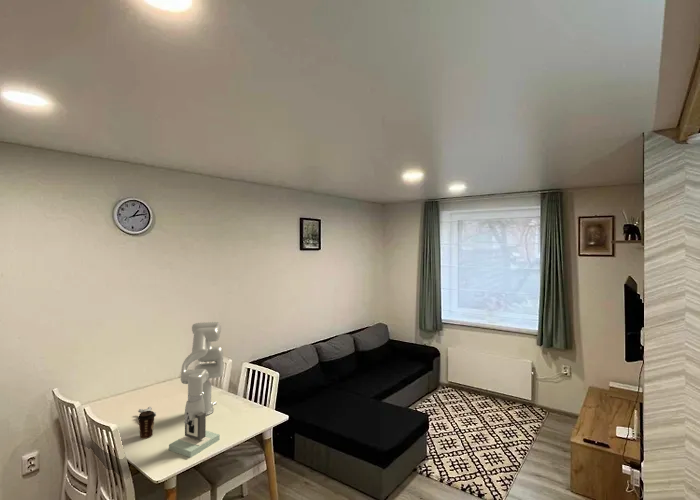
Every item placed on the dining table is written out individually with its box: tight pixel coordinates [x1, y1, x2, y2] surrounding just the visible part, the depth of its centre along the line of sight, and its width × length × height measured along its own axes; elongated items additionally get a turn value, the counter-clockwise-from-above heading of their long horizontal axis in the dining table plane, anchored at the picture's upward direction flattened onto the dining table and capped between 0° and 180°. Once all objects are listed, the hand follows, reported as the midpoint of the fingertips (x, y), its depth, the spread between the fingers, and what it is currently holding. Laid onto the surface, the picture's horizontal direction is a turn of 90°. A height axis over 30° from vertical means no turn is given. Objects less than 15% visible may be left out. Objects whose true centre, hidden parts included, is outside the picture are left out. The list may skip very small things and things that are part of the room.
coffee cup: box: [137, 410, 156, 440], centre depth 216 cm, size 9×8×13 cm
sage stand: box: [168, 430, 220, 458], centre depth 207 cm, size 20×16×3 cm
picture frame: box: [184, 412, 207, 440], centre depth 207 cm, size 4×11×13 cm, turn 65°
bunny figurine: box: [137, 406, 157, 418], centre depth 238 cm, size 10×5×15 cm
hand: (195, 430), depth 207 cm, fingers closed on picture frame, 4 cm apart
